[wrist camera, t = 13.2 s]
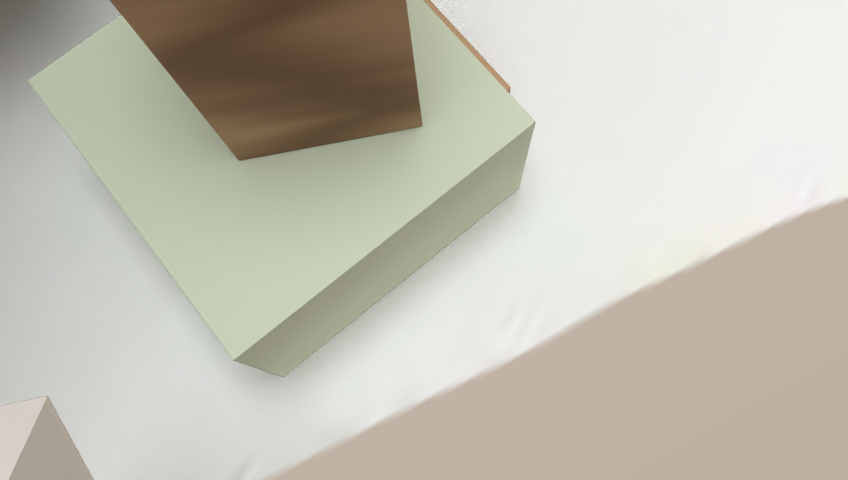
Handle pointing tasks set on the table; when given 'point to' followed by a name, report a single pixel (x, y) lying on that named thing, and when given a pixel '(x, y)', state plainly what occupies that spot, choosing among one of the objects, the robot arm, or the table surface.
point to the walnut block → (286, 67)
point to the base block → (290, 187)
